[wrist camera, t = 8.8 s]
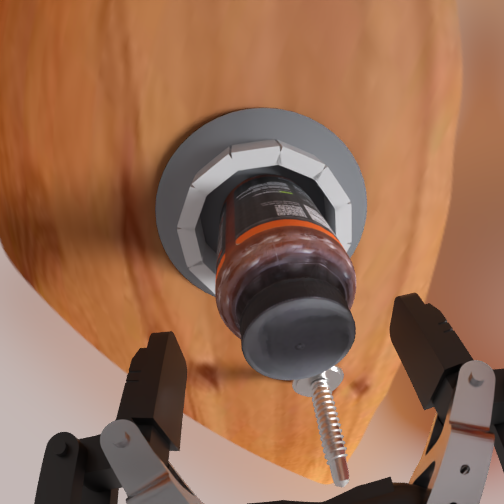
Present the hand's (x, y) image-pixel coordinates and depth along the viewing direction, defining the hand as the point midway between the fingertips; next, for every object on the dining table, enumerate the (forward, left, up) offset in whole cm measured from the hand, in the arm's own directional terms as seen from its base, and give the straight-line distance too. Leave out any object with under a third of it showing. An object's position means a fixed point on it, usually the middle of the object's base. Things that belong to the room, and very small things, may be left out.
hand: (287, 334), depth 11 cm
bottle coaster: (0, 0, -11) cm, 11 cm away
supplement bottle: (0, 0, -11) cm, 11 cm away
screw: (+16, +3, -12) cm, 20 cm away
